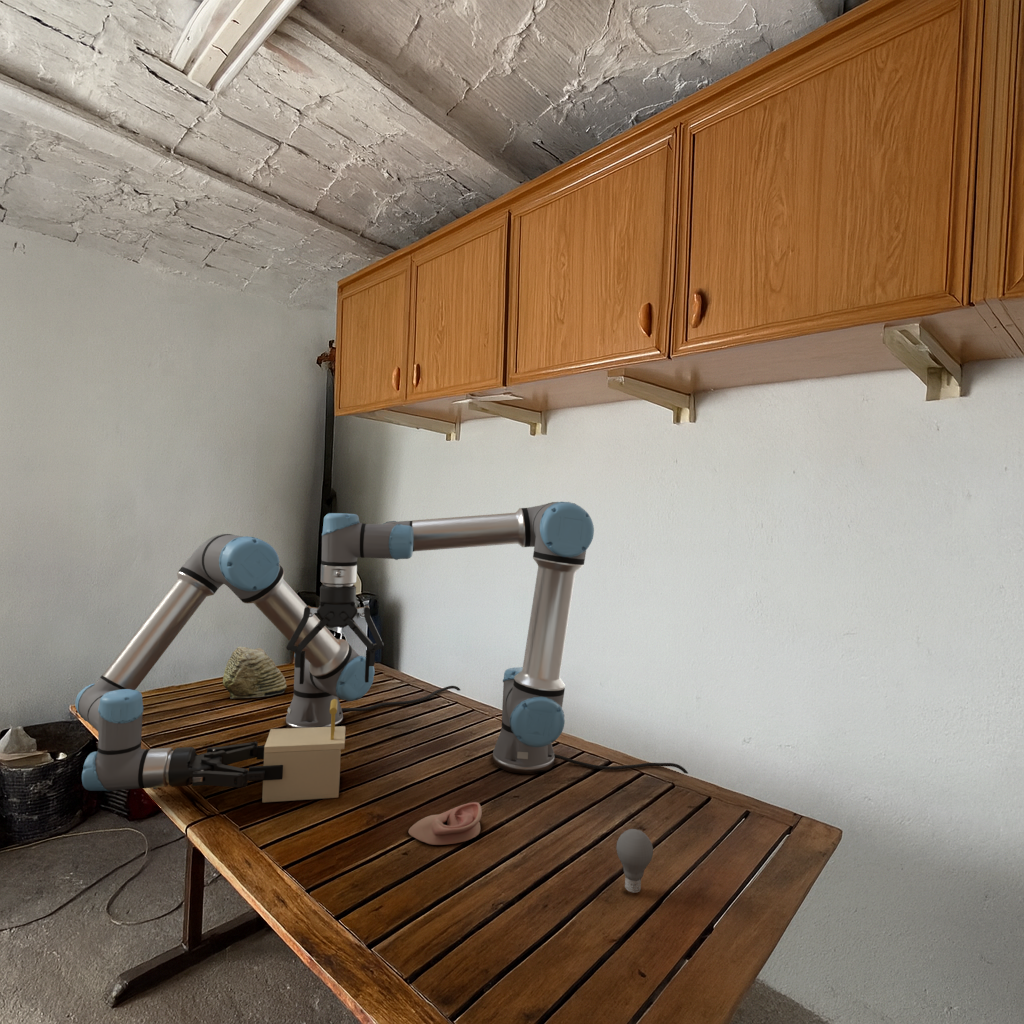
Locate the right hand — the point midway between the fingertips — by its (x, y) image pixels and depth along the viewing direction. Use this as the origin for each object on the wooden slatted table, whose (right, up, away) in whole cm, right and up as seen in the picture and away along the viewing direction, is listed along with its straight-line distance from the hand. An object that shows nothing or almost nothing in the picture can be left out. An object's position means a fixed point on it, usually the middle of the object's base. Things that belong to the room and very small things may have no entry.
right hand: (334, 681), depth 138 cm
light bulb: (+59, -26, -32) cm, 72 cm away
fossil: (-42, -20, +60) cm, 76 cm away
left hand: (-10, -17, -2) cm, 19 cm away
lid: (-6, -13, -1) cm, 14 cm away
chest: (-7, -23, -1) cm, 24 cm away
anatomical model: (+26, -25, -16) cm, 39 cm away
